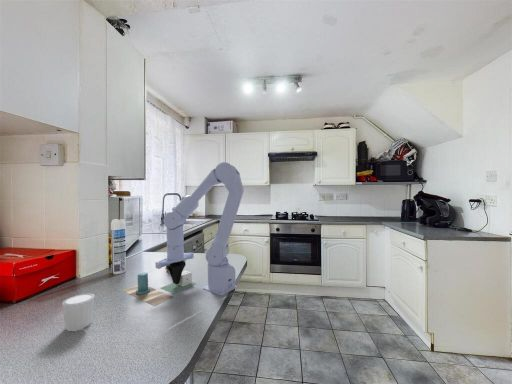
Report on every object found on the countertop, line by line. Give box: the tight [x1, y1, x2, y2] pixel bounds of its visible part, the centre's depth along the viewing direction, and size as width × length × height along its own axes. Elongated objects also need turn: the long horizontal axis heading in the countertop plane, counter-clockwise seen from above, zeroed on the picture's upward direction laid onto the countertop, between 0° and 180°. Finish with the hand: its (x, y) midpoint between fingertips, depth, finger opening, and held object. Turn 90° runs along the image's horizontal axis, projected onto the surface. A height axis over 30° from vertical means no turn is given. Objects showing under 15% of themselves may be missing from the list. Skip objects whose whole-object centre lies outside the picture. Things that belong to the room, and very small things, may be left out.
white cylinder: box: [61, 293, 96, 332], centre depth 62 cm, size 7×7×7 cm
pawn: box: [136, 272, 150, 295], centre depth 81 cm, size 4×4×6 cm
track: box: [121, 284, 175, 307], centre depth 80 cm, size 20×7×1 cm, turn 54°
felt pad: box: [160, 281, 197, 295], centre depth 86 cm, size 8×10×1 cm
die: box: [177, 269, 193, 287], centre depth 88 cm, size 4×4×4 cm
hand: (176, 283), depth 85 cm, fingers closed
